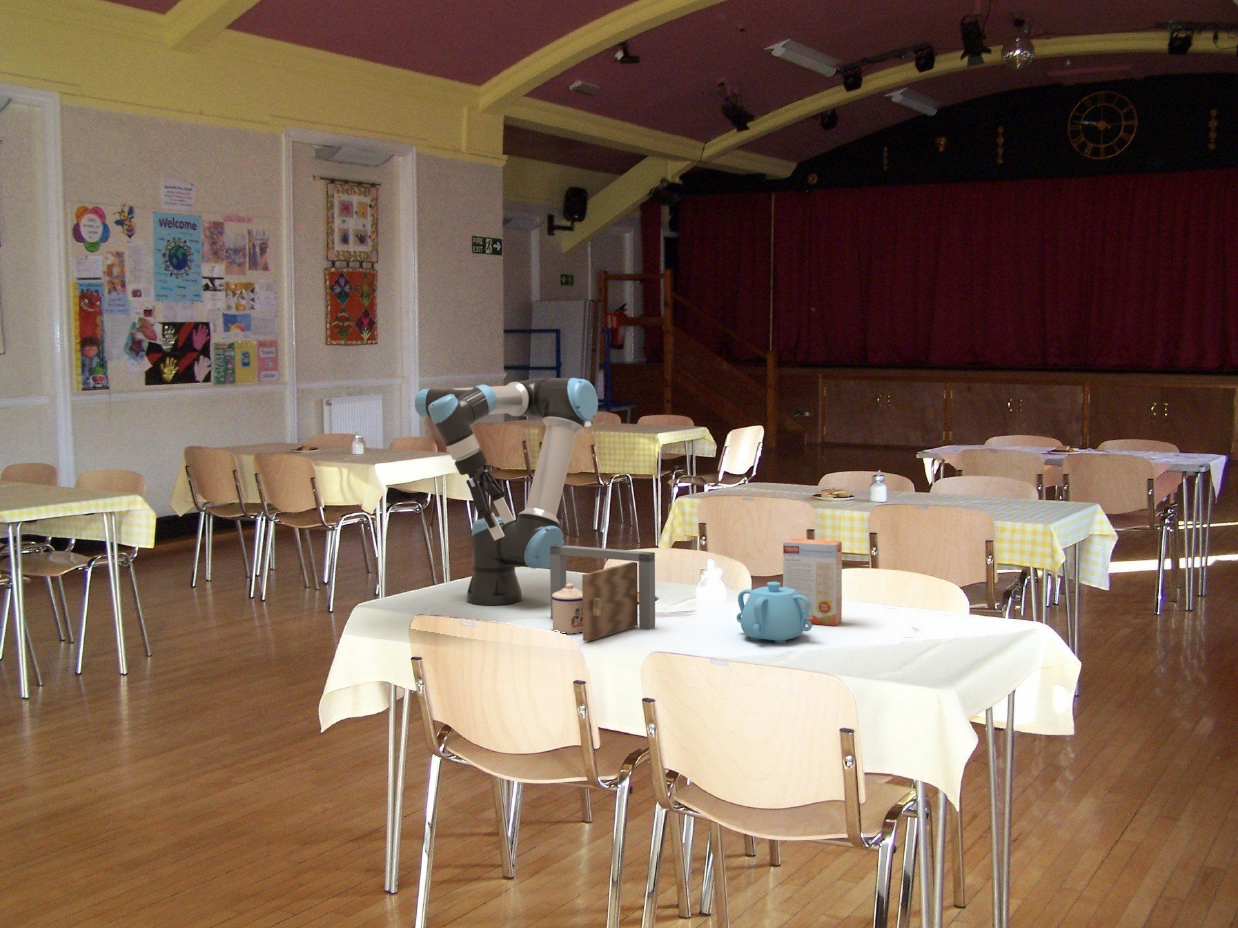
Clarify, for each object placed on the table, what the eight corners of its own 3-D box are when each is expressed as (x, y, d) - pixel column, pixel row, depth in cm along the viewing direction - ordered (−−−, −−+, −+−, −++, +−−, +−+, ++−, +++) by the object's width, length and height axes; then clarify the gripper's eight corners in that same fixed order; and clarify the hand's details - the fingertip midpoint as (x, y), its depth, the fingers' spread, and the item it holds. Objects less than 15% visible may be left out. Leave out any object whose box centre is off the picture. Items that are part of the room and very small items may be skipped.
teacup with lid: (576, 635, 312) (575, 588, 311) (544, 632, 317) (544, 585, 316) (601, 626, 323) (600, 580, 322) (570, 622, 327) (569, 577, 326)
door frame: (556, 616, 334) (555, 544, 332) (655, 627, 321) (654, 552, 319) (551, 618, 331) (549, 546, 329) (650, 629, 318) (649, 554, 316)
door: (632, 624, 322) (632, 561, 320) (643, 626, 320) (642, 563, 318) (583, 640, 306) (582, 574, 304) (593, 642, 304) (592, 575, 302)
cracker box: (842, 621, 326) (843, 540, 323) (835, 626, 320) (836, 544, 318) (789, 616, 331) (789, 537, 329) (782, 621, 326) (782, 540, 324)
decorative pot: (733, 631, 317) (733, 577, 315) (796, 628, 319) (796, 574, 317) (748, 647, 300) (748, 590, 299) (815, 644, 302) (815, 587, 301)
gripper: (464, 448, 331) (500, 520, 335) (442, 473, 307) (481, 551, 311) (490, 437, 330) (525, 509, 334) (470, 461, 306) (508, 539, 310)
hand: (504, 529), depth 323 cm, fingers open, 13 cm apart
